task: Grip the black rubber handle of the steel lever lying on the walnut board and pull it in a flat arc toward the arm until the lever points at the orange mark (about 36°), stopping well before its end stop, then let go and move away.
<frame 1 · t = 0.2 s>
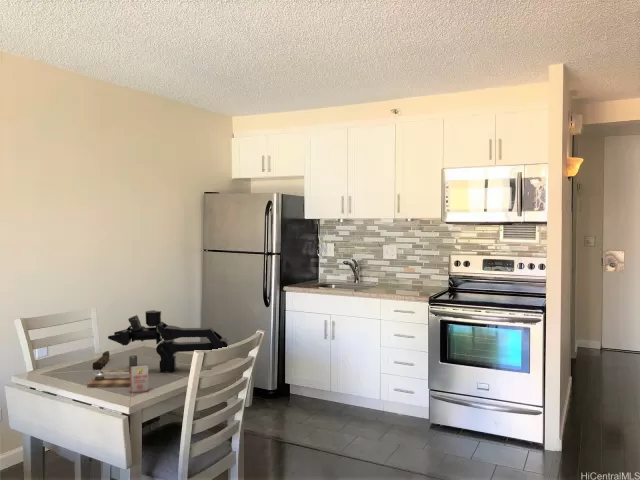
hand: (111, 335, 242), 17 cm above the table, tool horizontal, fingers open, 9 cm apart
tea bag: (139, 391, 217), on the table
lever board: (119, 379, 231), on the table
lever: (115, 366, 227), point 7 cm above the table, hinge at 0.0°
hand tool: (101, 365, 255), on the table
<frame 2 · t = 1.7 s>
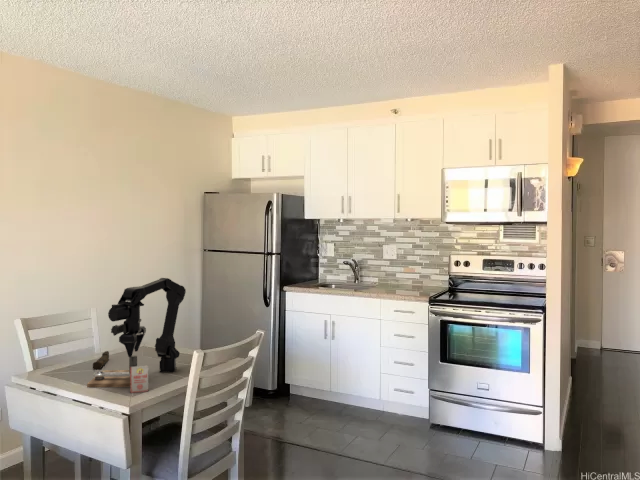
hand: (133, 354, 227), 12 cm above the table, tool pointing down, fingers open, 9 cm apart
nothing on the table moved.
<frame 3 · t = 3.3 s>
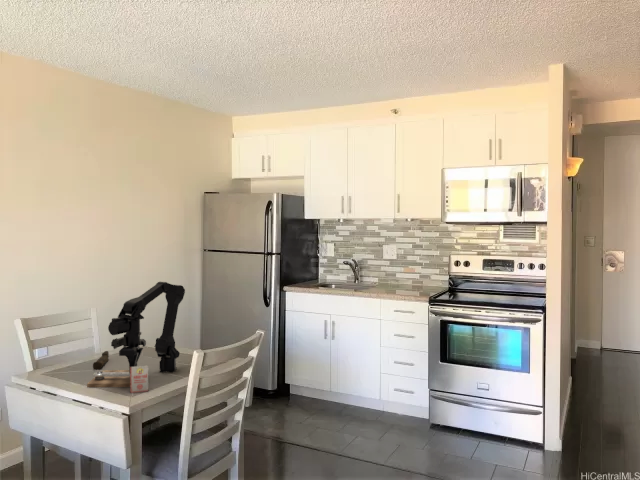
hand: (133, 367, 227), 7 cm above the table, tool pointing down, fingers closed on lever, 3 cm apart
lever: (115, 366, 227), point 7 cm above the table, hinge at 0.0°, touching gripper
everything else where it was.
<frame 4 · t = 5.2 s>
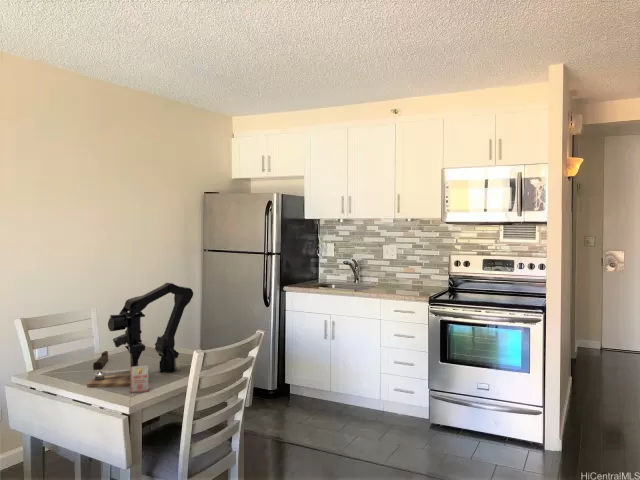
hand: (134, 363, 233), 6 cm above the table, tool pointing down, fingers open, 3 cm apart
lever: (116, 364, 230), point 7 cm above the table, hinge at 22.7°, touching gripper
everything else where it was.
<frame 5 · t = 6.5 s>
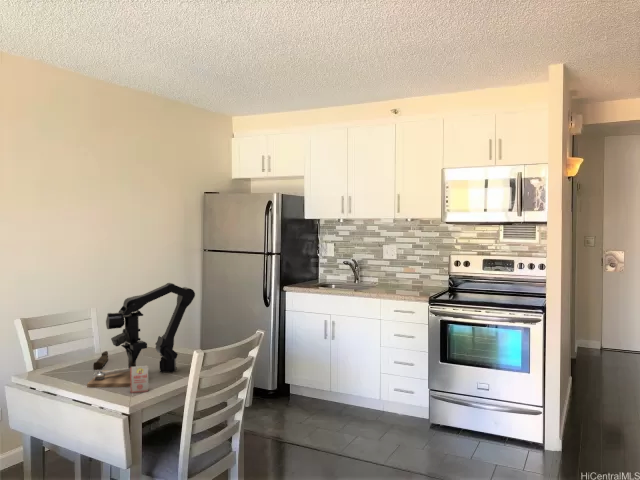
hand: (132, 361, 236), 7 cm above the table, tool pointing down, fingers closed on lever, 3 cm apart
lever: (115, 363, 231), point 7 cm above the table, hinge at 37.3°, touching gripper
everything else where it was.
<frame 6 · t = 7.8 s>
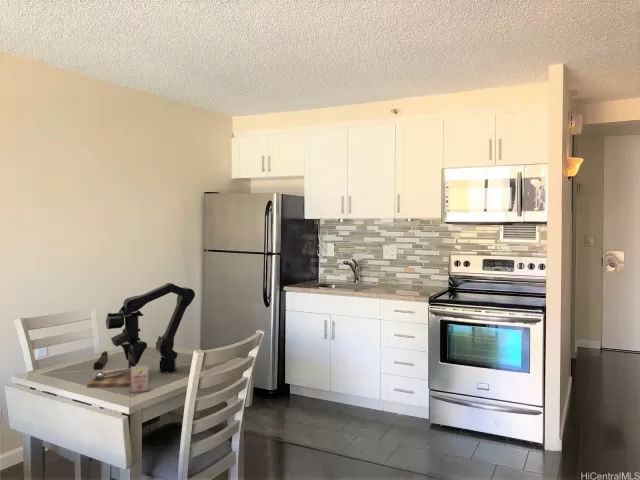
hand: (132, 361, 236), 7 cm above the table, tool pointing down, fingers open, 9 cm apart
lever: (115, 363, 231), point 7 cm above the table, hinge at 37.6°
everything else where it was.
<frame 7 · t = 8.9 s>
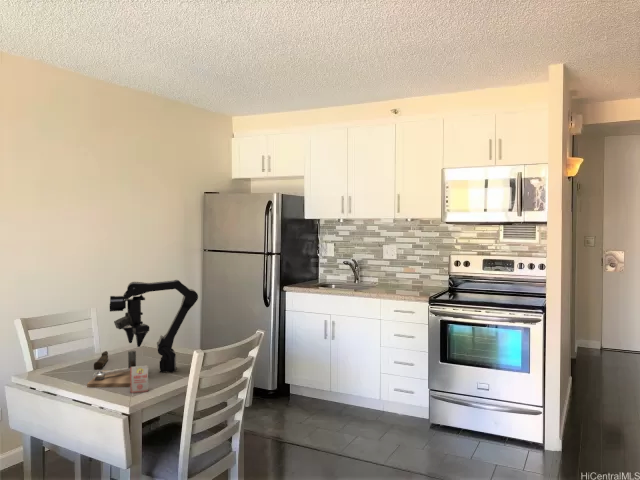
hand: (134, 344, 240), 13 cm above the table, tool pointing down, fingers open, 9 cm apart
nothing on the table moved.
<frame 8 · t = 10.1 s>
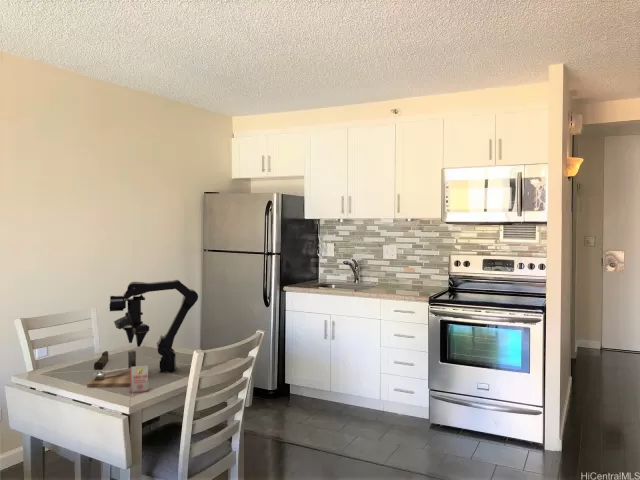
hand: (134, 344, 240), 13 cm above the table, tool pointing down, fingers open, 9 cm apart
nothing on the table moved.
at the end: lever at +38° (first picture: +0°); the gripper is holding nothing; tea bag moved 0.3 cm from its start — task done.
